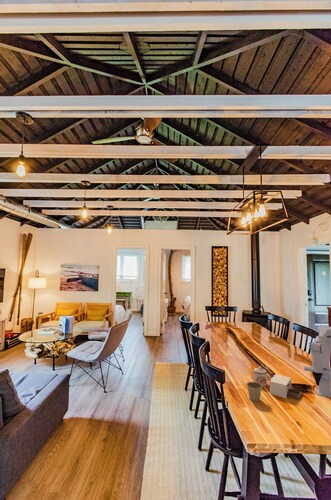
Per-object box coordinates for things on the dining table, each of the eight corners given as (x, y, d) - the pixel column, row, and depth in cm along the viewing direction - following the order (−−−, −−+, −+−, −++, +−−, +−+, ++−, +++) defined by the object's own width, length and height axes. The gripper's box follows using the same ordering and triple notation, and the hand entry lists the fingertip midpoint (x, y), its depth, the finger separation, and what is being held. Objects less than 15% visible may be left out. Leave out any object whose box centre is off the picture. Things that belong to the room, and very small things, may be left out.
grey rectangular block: (275, 385, 183) (275, 374, 183) (291, 390, 177) (291, 377, 177) (269, 393, 171) (269, 381, 171) (286, 398, 165) (286, 385, 166)
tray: (279, 389, 179) (278, 385, 180) (301, 395, 171) (301, 391, 171) (275, 394, 171) (275, 391, 172) (298, 401, 163) (298, 397, 163)
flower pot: (243, 397, 166) (243, 383, 166) (255, 394, 169) (255, 380, 170) (253, 404, 157) (253, 389, 158) (265, 401, 161) (265, 386, 161)
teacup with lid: (255, 386, 182) (255, 369, 182) (251, 380, 191) (251, 364, 191) (273, 386, 181) (272, 369, 182) (268, 381, 190) (268, 364, 191)
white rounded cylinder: (283, 389, 177) (283, 384, 177) (289, 391, 175) (289, 385, 175) (281, 391, 174) (281, 385, 174) (287, 393, 172) (287, 387, 172)
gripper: (303, 361, 165) (303, 383, 164) (330, 366, 156) (331, 390, 155) (305, 358, 170) (305, 380, 169) (331, 363, 162) (332, 386, 161)
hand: (317, 384), depth 163 cm, fingers closed
